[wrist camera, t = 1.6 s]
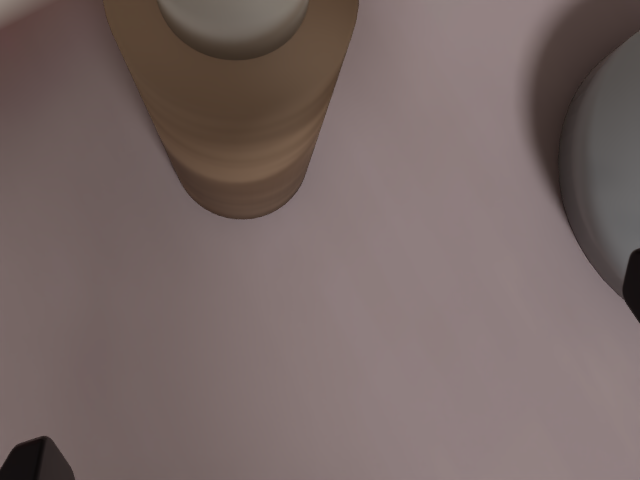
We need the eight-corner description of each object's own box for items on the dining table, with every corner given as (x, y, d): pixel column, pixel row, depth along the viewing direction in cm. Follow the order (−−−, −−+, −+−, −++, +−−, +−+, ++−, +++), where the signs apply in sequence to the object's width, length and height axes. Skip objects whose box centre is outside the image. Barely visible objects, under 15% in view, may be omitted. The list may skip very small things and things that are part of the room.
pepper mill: (281, 238, 22) (318, 119, 10) (153, 191, 22) (30, 10, 10) (326, 118, 23) (409, -124, 11) (203, 71, 23) (149, -230, 11)
